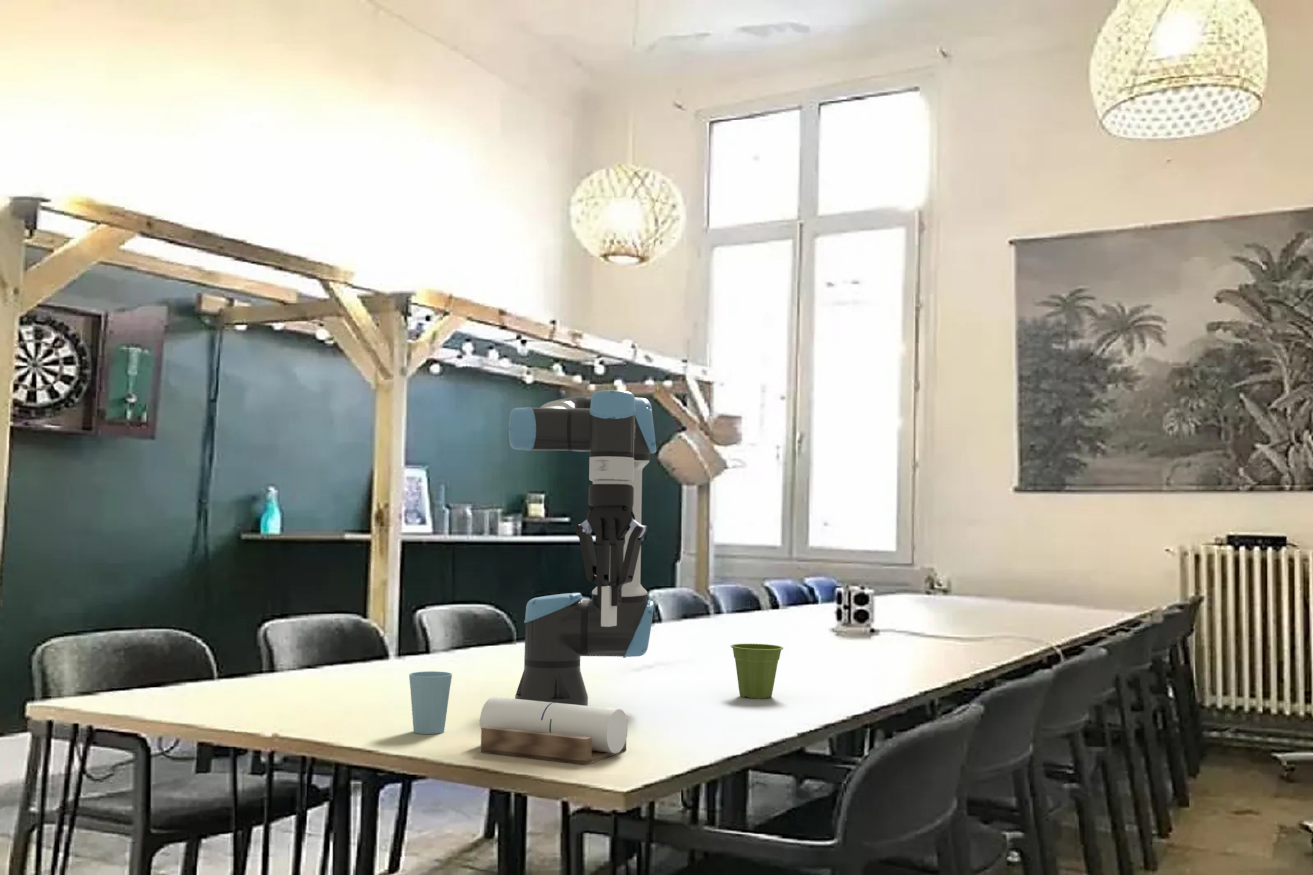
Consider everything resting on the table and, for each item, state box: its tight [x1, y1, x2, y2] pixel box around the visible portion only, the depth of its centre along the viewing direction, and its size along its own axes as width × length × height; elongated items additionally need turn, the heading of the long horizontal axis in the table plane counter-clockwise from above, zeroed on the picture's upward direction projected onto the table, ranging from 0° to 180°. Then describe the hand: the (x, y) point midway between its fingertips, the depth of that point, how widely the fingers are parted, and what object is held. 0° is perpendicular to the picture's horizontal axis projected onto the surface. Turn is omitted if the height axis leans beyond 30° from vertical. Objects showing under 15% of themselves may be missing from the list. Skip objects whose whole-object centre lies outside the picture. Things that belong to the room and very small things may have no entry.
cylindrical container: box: [479, 696, 629, 754], centre depth 201 cm, size 7×7×25 cm
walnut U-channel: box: [480, 726, 627, 766], centre depth 199 cm, size 20×14×4 cm
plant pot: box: [730, 643, 784, 700], centre depth 265 cm, size 12×12×11 cm
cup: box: [408, 670, 453, 735], centre depth 215 cm, size 8×8×10 cm
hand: (608, 625), depth 196 cm, fingers closed
